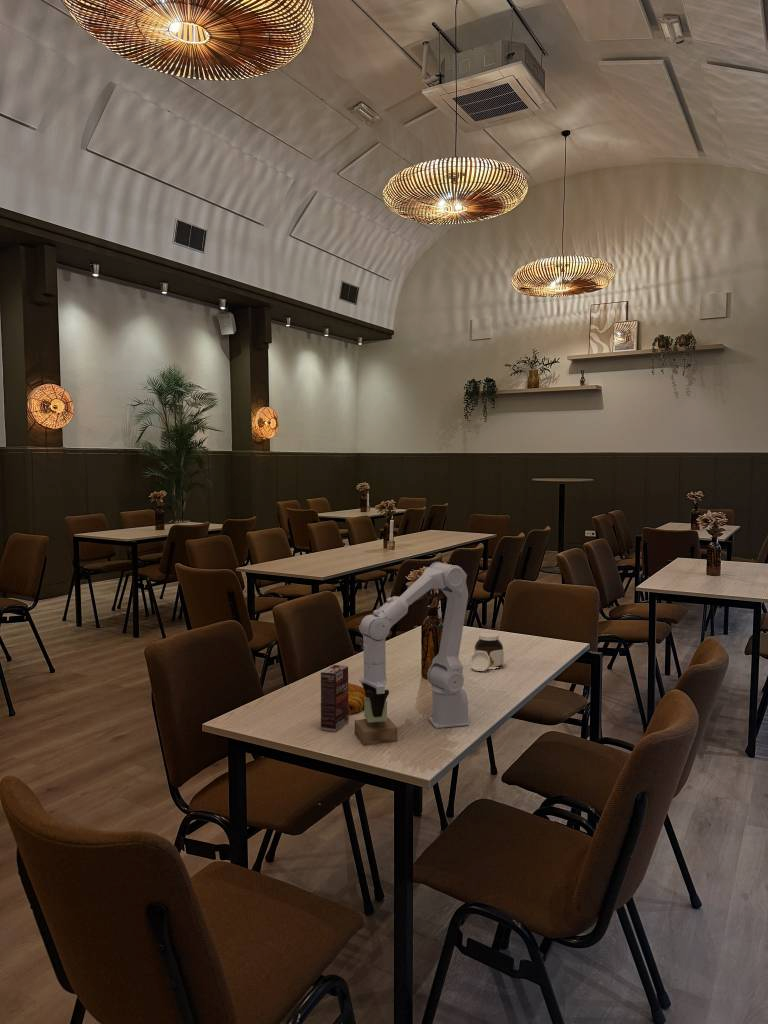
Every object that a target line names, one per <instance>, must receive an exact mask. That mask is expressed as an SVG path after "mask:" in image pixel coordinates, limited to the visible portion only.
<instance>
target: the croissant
mask: <svg viewBox="0 0 768 1024" xmlns="http://www.w3.org/2000/svg"><path fill="white" fill-rule="evenodd" d="M365 697H366V693H365V690H364V688H363V686H362V685H358V684H352V683H350V682H348V709H349V715H351V714H352V715H353V714H355V713H359V712H361V711H364V698H365Z"/></svg>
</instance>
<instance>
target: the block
mask: <svg viewBox="0 0 768 1024" xmlns="http://www.w3.org/2000/svg"><path fill="white" fill-rule="evenodd" d="M354 735H355V736H356V737H357V739H358V740H359V741H360V743H361V745H363V747H367V746H374V745H382V744H390V743H397V742H398V727H397V725H396V724H394V722H393V721H392V720H391V719H390V718H389V717H388V716H387V721H380V722H369V723H368V721H367V720H366V718H361V719H355V720H354Z"/></svg>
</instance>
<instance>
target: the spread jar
mask: <svg viewBox="0 0 768 1024" xmlns="http://www.w3.org/2000/svg"><path fill="white" fill-rule="evenodd" d="M499 637H500V636H499V633H497V632H496V633H495V632H481V633H479V634H478V640H477V641H476V643H475V645H474V649H473V650H474V653H473V654H472V655H471V658H470V663H469V664H470V666H471V668H472V669H473V670H474V671H476V670H475V668H476V669H485V670H486V671H488V670H487V669H488V668H489V667H499V666H501V667H502V666H503V664H504V646H503V644H502V642H501V640H499ZM499 668H500V667H499ZM483 672H485V671H484V670H483Z"/></svg>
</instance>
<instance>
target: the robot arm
mask: <svg viewBox="0 0 768 1024" xmlns="http://www.w3.org/2000/svg"><path fill="white" fill-rule="evenodd" d="M467 576H468V574H467V573H466V572H465V570H463V568H462V567H461V566H459V565H456V564H455V565H453V564H448V563H444V562H441V561H436V562H435V561H434V562H433V563H431V564H430V566H428V567H427V568H425V569H424V570H423V572H422V574H421V575H420V576H419V577H418V579H416V580H415V581H414V582H413V583H412V584H411V585H410V586H409V587H408V588H407V589H406V590H405V591H404V592H403V593H402V594H401V595H400V596H396V595H393V596H392V597H391V596H389V597H388V598H386V602H385V603H384V604H383V605H381V606H380V607H378V608H377V609H375V610H373V613H372V614H369V615H365V616H364V617H363V618H362V620H361V622H360V625H359V626H358V629H359V632H360V633H361V635H362V637H363V638H362V639H363V677H361V678H359V683H361V687H363V688H364V690H365V693H366V697H369V698H370V701H371V707H372V713H373V716H374V717H382V713H383V708H384V704H385V701H387V698H388V696H389V694H390V691H389V689H385V685H386V683H387V674H386V673H387V670H386V668H387V666H386V665H387V664H386V661H387V660H386V653H387V652H386V638H387V637H388V635H389V634H390V631H391V628H393V626H394V625H396V624H397V623H398V622H399V621H400V620H401V619H402V618H404V616H406V615H407V614H408V612H409V606H410V605H412V604H413V603H414V602H416V601H418V600H419V598H421V597H422V596H424V595H425V594H426V593H428V592H429V591H430V590H440V591H442V593H443V594H444V595H445V596H446V605H445V606H446V607H445V612H444V618H443V624H442V630H441V638H440V642H439V650H438V653H437V655H436V656H435V657H433V658H432V662H431V665H430V667H429V668H428V671H427V675H426V676H427V677H426V678H427V681H428V682H429V684H430V685H431V689H432V690H431V691H432V698H431V699H432V716H429V717H427V719H428V720H429V721H430V723H432V725H433V726H434V728H435V729H441V728H451V727H452V728H453V727H454V728H455V727H463V726H469V725H470V723H469V699H468V694H467V692H466V690H465V689H463V686H464V681H465V679H464V674H463V673H464V672H463V670H464V666H463V664H462V662H461V661H460V658H459V657H460V656H459V655H460V649H461V643H462V638H463V630H464V625H465V618H466V613H467V605H468V600H469V591H468V585H467V578H468V577H467Z"/></svg>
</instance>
